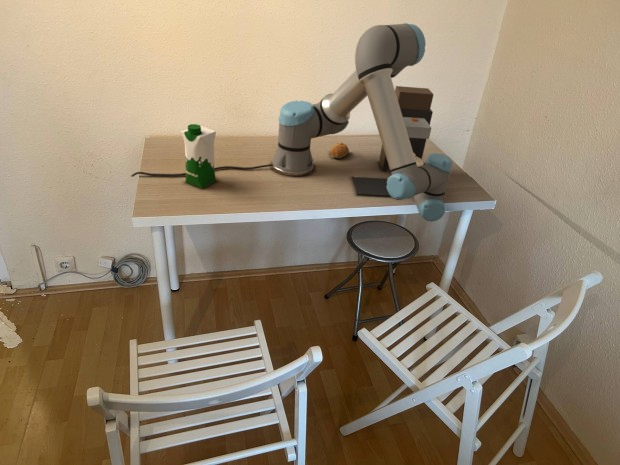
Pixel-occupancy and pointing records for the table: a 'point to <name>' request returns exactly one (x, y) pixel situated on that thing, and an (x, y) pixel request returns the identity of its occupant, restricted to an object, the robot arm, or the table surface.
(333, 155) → the pastry
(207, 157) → the milk carton
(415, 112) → the coffee maker
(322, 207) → the table surface
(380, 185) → the rubber mat
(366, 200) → the table surface
